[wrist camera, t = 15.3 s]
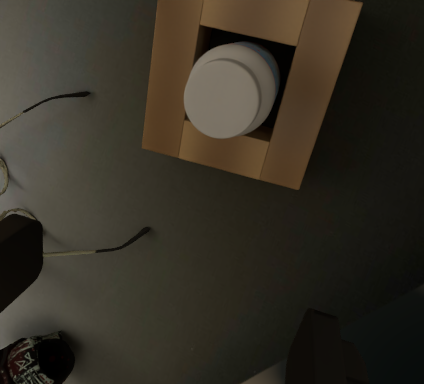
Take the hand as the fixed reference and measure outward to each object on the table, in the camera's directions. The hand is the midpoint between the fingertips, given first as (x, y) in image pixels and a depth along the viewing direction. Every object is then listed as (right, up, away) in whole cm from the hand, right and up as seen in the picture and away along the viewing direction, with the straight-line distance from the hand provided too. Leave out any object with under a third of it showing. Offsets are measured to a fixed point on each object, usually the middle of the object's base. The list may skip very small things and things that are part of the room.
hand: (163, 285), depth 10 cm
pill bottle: (+4, +13, +21) cm, 25 cm away
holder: (+4, +13, +21) cm, 25 cm away
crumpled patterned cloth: (-23, -19, +42) cm, 51 cm away
